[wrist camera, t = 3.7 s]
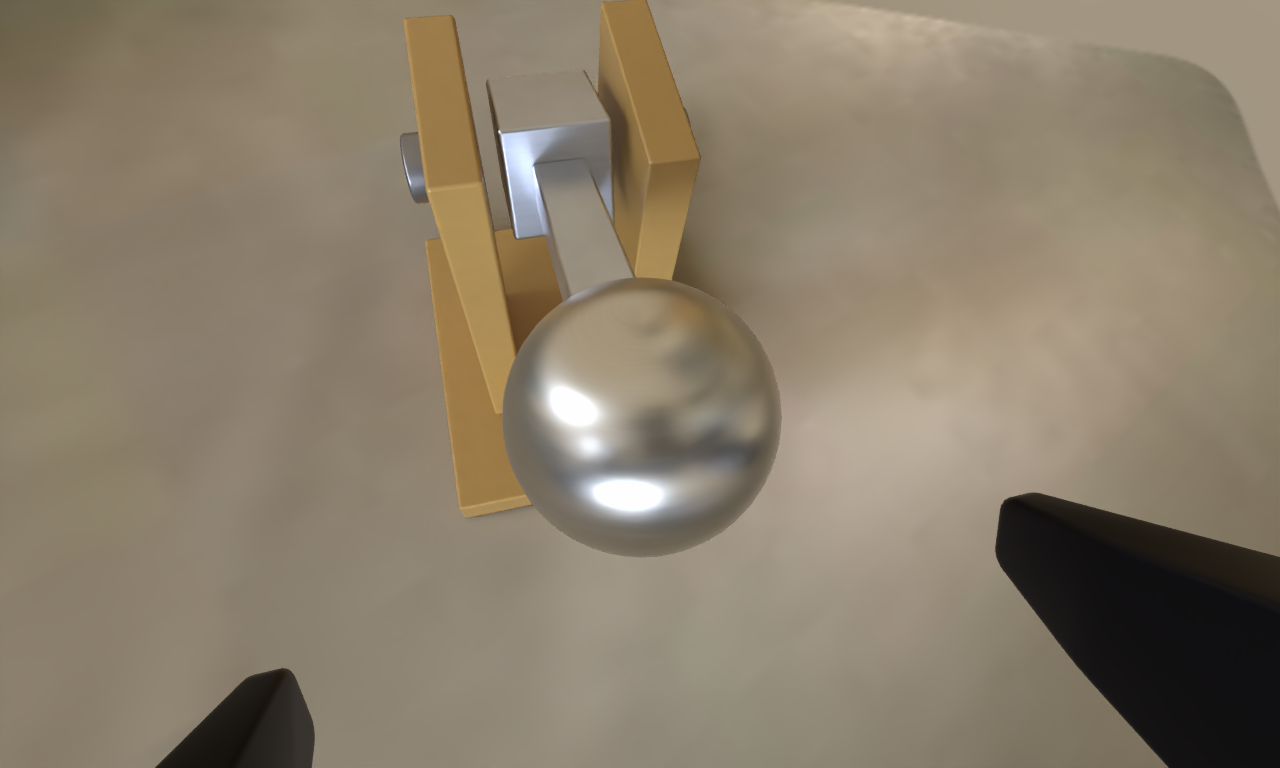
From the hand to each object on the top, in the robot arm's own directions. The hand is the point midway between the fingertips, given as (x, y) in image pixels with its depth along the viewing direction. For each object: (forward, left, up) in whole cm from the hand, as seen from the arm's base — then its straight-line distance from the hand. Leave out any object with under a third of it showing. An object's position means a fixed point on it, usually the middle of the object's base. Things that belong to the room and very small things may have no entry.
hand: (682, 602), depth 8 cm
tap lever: (+4, -3, -3) cm, 6 cm away
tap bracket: (+7, -7, -13) cm, 16 cm away
